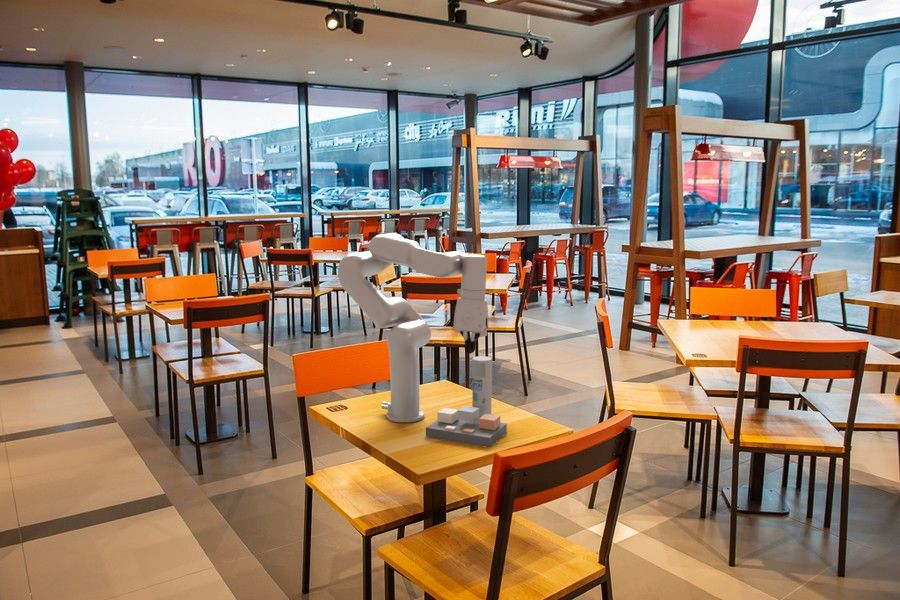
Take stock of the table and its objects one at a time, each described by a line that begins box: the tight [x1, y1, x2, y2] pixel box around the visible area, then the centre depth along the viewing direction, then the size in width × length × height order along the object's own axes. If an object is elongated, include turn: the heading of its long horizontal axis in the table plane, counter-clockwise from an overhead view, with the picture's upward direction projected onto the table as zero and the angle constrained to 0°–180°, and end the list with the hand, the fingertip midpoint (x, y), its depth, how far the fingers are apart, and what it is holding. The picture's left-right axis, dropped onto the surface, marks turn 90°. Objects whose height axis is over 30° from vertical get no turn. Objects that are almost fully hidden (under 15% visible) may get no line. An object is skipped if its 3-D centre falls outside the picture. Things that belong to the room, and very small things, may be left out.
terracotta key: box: [479, 413, 501, 430], centre depth 210 cm, size 5×5×3 cm
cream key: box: [436, 407, 459, 424], centre depth 216 cm, size 5×5×3 cm
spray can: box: [471, 355, 493, 419], centre depth 228 cm, size 6×6×20 cm
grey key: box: [457, 405, 479, 422], centre depth 213 cm, size 5×5×3 cm
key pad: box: [425, 419, 508, 448], centre depth 212 cm, size 21×14×4 cm, turn 64°
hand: (469, 352), depth 215 cm, fingers closed
